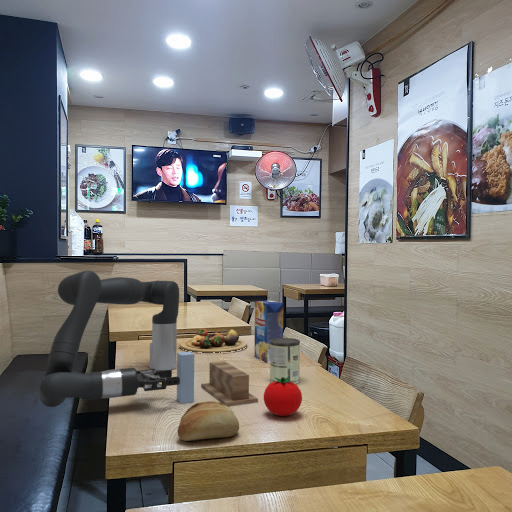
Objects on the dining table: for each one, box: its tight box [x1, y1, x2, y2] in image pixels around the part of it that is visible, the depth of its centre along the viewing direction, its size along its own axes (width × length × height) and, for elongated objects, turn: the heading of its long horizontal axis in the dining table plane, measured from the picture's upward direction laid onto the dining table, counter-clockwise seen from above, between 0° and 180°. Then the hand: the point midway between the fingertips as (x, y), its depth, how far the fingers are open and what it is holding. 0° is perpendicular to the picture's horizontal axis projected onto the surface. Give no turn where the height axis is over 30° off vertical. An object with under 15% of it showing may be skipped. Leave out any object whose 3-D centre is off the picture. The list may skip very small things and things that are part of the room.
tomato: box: [263, 377, 303, 417], centre depth 126 cm, size 10×10×10 cm
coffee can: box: [269, 337, 301, 385], centre depth 161 cm, size 10×10×14 cm
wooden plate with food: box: [179, 327, 248, 353], centre depth 221 cm, size 32×32×8 cm
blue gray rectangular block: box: [176, 351, 195, 405], centre depth 138 cm, size 4×4×14 cm
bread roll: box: [177, 400, 240, 442], centre depth 110 cm, size 10×15×8 cm, turn 115°
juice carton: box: [254, 300, 284, 364], centre depth 195 cm, size 12×8×24 cm, turn 25°
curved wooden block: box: [200, 360, 259, 407], centre depth 145 cm, size 22×10×8 cm, turn 26°
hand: (175, 376), depth 137 cm, fingers open, 8 cm apart
